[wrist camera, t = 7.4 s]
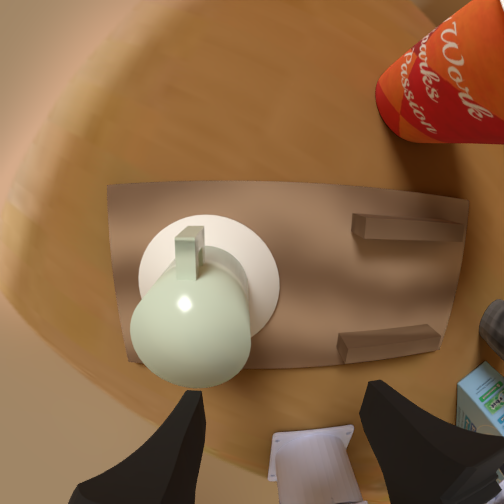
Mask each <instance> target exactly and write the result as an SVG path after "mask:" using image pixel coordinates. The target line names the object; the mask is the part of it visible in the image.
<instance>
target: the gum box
mask: <svg viewBox="0 0 504 504" xmlns="http://www.w3.org/2000/svg"><path fill="white" fill-rule="evenodd" d="M456 426H457V427H460V428H463V429H466V430H470V431H473V432H478V433H482V434H488V435H496V436H504V377H503V376H502V375H501V374H500V373H498V372H497V371H496V370H495V369H494V368H493V367H492V366H491V365H490V364H489V363H488V362H486V361H484V362H483V363H482V364H481V365H479V366H478V367H477V368H476V369H474V370H473V371H472V372H470V373H469V374H468V375H467V376H465V377H464V378H463V379H462V380H460V381H459V382H458V383H457V418H456ZM496 473H497V474H498V476H499V477H498V479H497V480H496V481H497V483H499V482H501V481H502V480H503V479H504V463H503V464H502V466H501V467H500V468H499V469H498V470H497V472H496Z"/></svg>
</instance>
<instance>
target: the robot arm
mask: <svg viewBox="0 0 504 504" xmlns="http://www.w3.org/2000/svg"><path fill="white" fill-rule="evenodd" d="M359 414H360V418H361V422H362V425H363V428H364V432H365V434H366V436H367V438H368V441H369V443H370V445H371V447H372V449H373V452H374V454H375V456H376V458H377V460H378V463H379V465H380V467H381V470H382V472H383V475H384V479H385V482H386V486H387V490H388V494H389V498H390V502H391V504H504V479H503V480H502V481H501V482H499V483H497V481H496V480H497V479H498V477H499V476H498V474H497V473H496V472H497V470H498V469H499V468H500V467H501V466H502V464H503V463H504V436H496V435H488V434H482V433H478V432H473V431H470V430H466V429H463V428H460V427H457V426H455V425H452V424H450V423H447V422H445V421H443V420H441V419H439V418H437V417H435V416H433V415H431V414H430V413H428V412H426V411H425V410H423V409H421V408H420V407H418V406H417V405H415V404H414V403H412V402H411V401H409V400H408V399H407V398H405V397H404V396H402V395H401V394H400V393H398V392H397V391H396V390H394V389H393V388H392V387H390V386H389V385H388V384H386V383H385V382H383V381H382V380H375V381H369V382H368V385H367V389H366V393H365V396H364V399H363V403H362V406H361V409H360V412H359ZM205 431H206V419H205V412H204V405H203V397H202V391H192V390H187V391H186V392H185V393H184V395H183V396H182V398H181V399H180V401H179V403H178V404H177V405H176V407H175V408H174V410H173V411H172V412H171V414H170V415H169V416H168V418H167V419H166V420H165V421H164V423H163V424H162V425H161V426H160V427H159V428H158V430H157V431H156V432H155V433H154V434H153V435H152V436H151V437H150V438H149V439H148V440H147V441H146V442H145V443H144V444H143V445H142V446H141V447H140V448H139V449H137V450H136V451H135V452H134V453H132V454H131V455H130V456H129V457H127V458H126V459H125V460H123V461H122V462H120V463H119V464H117V465H116V466H114V467H112V468H111V469H109V470H107V471H105V472H104V473H102V474H100V475H98V476H96V477H94V478H91V479H89V480H87V481H84V482H82V483H80V484H78V485H77V487H76V489H75V490H74V492H73V494H72V496H71V498H70V500H69V503H68V504H195V489H196V483H197V477H198V473H199V468H200V463H201V458H202V453H203V448H204V443H205ZM353 431H354V426H353V425H345V426H338V427H331V428H323V429H314V430H304V431H291V432H277V433H274V434H273V436H272V445H271V454H270V462H269V470H268V480H269V481H277V485H278V494H279V502H280V504H368V502H367V501H366V500H365V501H363V498H362V496H361V493H360V490H359V487H358V484H357V481H356V478H355V475H354V472H353V469H352V466H351V464H350V461H349V458H348V455H347V452H346V449H347V446H348V444H349V441H350V439H351V436H352V434H353Z"/></svg>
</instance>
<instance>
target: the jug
mask: <svg viewBox="0 0 504 504" xmlns="http://www.w3.org/2000/svg"><path fill="white" fill-rule="evenodd" d="M130 334H131V340H132V344H133V346H134V349H135V351H136V353H137V355H138V357H139V358H140V359H141V361H142V362H143V363H144V364H145V365H146V367H147V368H148V369H150V370H151V371H152V372H153V373H154V374H156V375H157V376H159V377H160V378H162V379H164V380H166V381H168V382H170V383H173V384H176V385H179V386H183V387H189V388H208V387H213V386H216V385H219V384H222V383H224V382H226V381H228V380H230V379H231V378H233V377H234V376H235V375H236V374H238V373H239V371H240V370H241V369H242V368H243V367H244V365H245V363H246V361H247V359H248V357H249V353H250V348H251V335H250V314H249V292H248V280H247V276H246V273H245V270H244V268H243V267H242V265H241V264H240V262H239V261H238V260H237V259H236V258H235V257H234V256H233V255H231V254H230V253H228V252H227V251H225V250H223V249H220V248H218V247H213V246H205V234H204V226H187V227H186V228H185V229H184V230H182V231H181V232H180V233H179V234H178V235H177V236H176V237H175V259H174V260H173V261H172V263H171V264H170V265H169V266H168V267H167V269H166V270H165V271H164V272H163V274H162V275H161V276H160V277H159V278H158V280H157V281H156V282H155V283H154V285H153V286H152V287H151V289H150V290H149V291H148V292H147V294H146V295H145V296H144V297H143V299H142V300H141V301H140V302H139V304H138V305H137V307H136V308H135V310H134V312H133V315H132V318H131V323H130Z"/></svg>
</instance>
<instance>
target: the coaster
mask: <svg viewBox="0 0 504 504" xmlns="http://www.w3.org/2000/svg"><path fill="white" fill-rule="evenodd" d="M187 226H204V234H205V246H213V247H218V248H220V249H223V250H225V251H227V252H228V253H230V254H231V255H233V256H234V257H235V258H236V259H237V260H238V261H239V262H240V264H241V265H242V267H243V268H244V270H245V273H246V276H247V280H248V292H249V314H250V335H251V337H252V336H254V335H255V334H257V333H258V332H259V331H260V330H261V329H262V328H263V327H264V326H265V324H266V323H267V322H268V321H269V319H270V317H271V316H272V314H273V312H274V310H275V307H276V305H277V301H278V297H279V289H280V287H279V274H278V269H277V266H276V263H275V260H274V258H273V256H272V254H271V252H270V250H269V249H268V247H267V245H266V244H265V243H264V242H263V240H262V239H261V238H260V237H259V236H258V235H257V234H256V233H255V232H254V231H252V230H251V229H250V228H248V227H247V226H245V225H244V224H242V223H240V222H238V221H236V220H233V219H230V218H227V217H223V216H218V215H208V214H204V215H194V216H189V217H186V218H183V219H180V220H178V221H176V222H174V223H172V224H170V225H168V226H167V227H166V228H164V229H163V230H161V231H160V232H159V233H158V234H157V235H156V236H155V237H154V238H153V240H152V241H151V242H150V243H149V245H148V247H147V248H146V250H145V252H144V254H143V257H142V260H141V263H140V268H139V277H138V278H139V290H140V295H141V298H142V299H143V297H144V296H145V295H146V294H147V292H148V291H149V290H150V289H151V287H152V286H153V285H154V283H155V282H156V281H157V280H158V278H159V277H160V276H161V275H162V274H163V272H164V271H165V270H166V269H167V267H168V266H169V265H170V264H171V263H172V261H173V260H174V259H175V237H176V236H177V235H178V234H179V233H180V232H181V231H182V230H184V229H185V228H186V227H187Z"/></svg>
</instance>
